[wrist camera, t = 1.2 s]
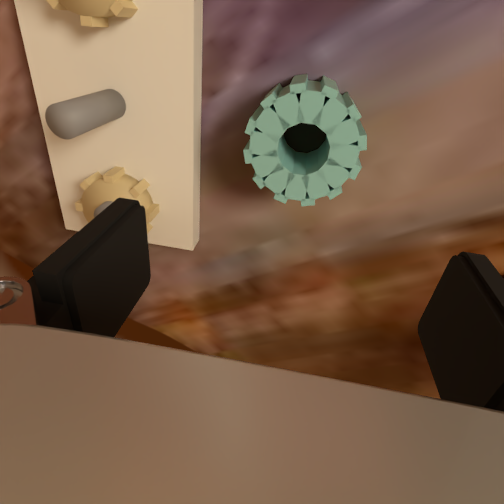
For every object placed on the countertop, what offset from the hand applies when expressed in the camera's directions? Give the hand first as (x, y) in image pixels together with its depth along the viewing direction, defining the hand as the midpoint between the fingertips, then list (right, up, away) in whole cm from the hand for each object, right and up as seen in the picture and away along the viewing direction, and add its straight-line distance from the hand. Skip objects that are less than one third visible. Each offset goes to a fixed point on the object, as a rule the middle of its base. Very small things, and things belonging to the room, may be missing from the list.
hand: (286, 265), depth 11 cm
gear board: (-11, +12, +16) cm, 23 cm away
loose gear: (+3, +9, +15) cm, 18 cm away
